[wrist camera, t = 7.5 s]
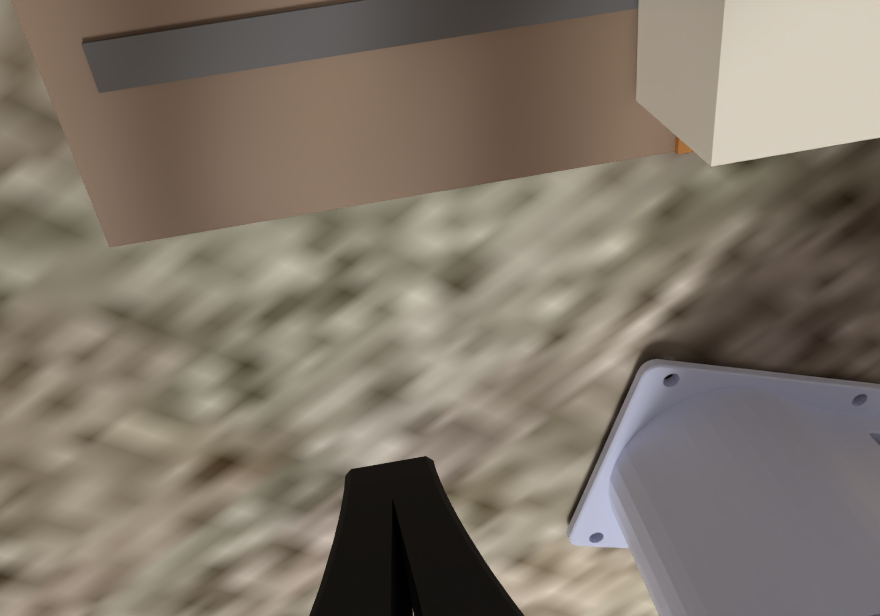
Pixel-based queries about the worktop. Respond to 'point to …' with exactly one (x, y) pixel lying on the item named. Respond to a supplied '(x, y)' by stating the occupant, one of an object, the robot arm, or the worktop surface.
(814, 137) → the slider tab
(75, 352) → the worktop surface
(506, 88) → the fader board
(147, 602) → the worktop surface
